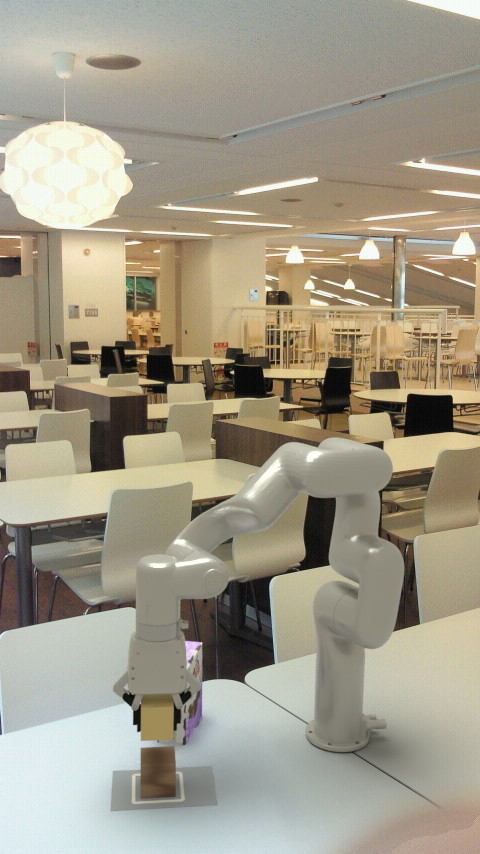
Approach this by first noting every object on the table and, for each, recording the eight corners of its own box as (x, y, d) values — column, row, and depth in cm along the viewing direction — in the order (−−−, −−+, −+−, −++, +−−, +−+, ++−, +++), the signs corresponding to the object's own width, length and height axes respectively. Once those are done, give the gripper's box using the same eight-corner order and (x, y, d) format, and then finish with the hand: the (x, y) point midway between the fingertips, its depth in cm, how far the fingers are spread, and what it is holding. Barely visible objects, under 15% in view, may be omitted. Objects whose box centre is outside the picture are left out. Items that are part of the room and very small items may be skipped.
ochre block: (171, 723, 149) (172, 691, 148) (173, 739, 144) (173, 707, 143) (140, 724, 149) (140, 692, 148) (140, 740, 143) (141, 708, 142)
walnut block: (174, 777, 151) (174, 746, 150) (175, 796, 145) (175, 764, 144) (140, 778, 150) (140, 747, 150) (140, 798, 145) (140, 766, 144)
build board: (211, 770, 155) (211, 765, 155) (217, 810, 143) (217, 804, 143) (112, 776, 153) (112, 770, 153) (110, 816, 141) (110, 810, 141)
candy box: (185, 750, 162) (186, 669, 159) (156, 746, 163) (156, 666, 161) (203, 715, 175) (203, 640, 173) (175, 712, 176) (176, 638, 174)
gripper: (206, 618, 148) (204, 715, 151) (107, 620, 146) (107, 718, 149) (210, 635, 141) (207, 737, 143) (105, 638, 139) (105, 740, 141)
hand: (156, 726), depth 146 cm, fingers closed on ochre block, 5 cm apart
